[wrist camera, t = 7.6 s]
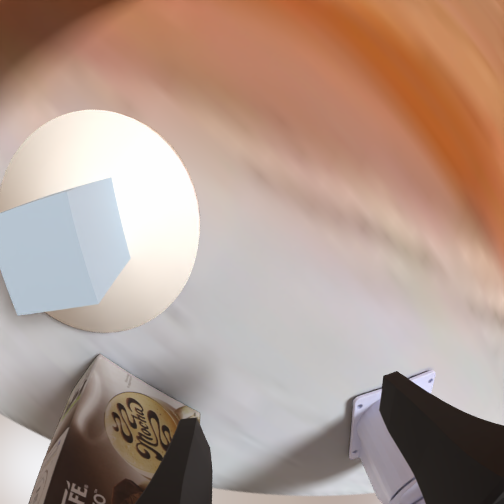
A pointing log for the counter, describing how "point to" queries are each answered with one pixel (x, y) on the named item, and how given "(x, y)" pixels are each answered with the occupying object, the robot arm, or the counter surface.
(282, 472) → the counter surface
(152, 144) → the saucer
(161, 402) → the coffee box
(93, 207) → the block
